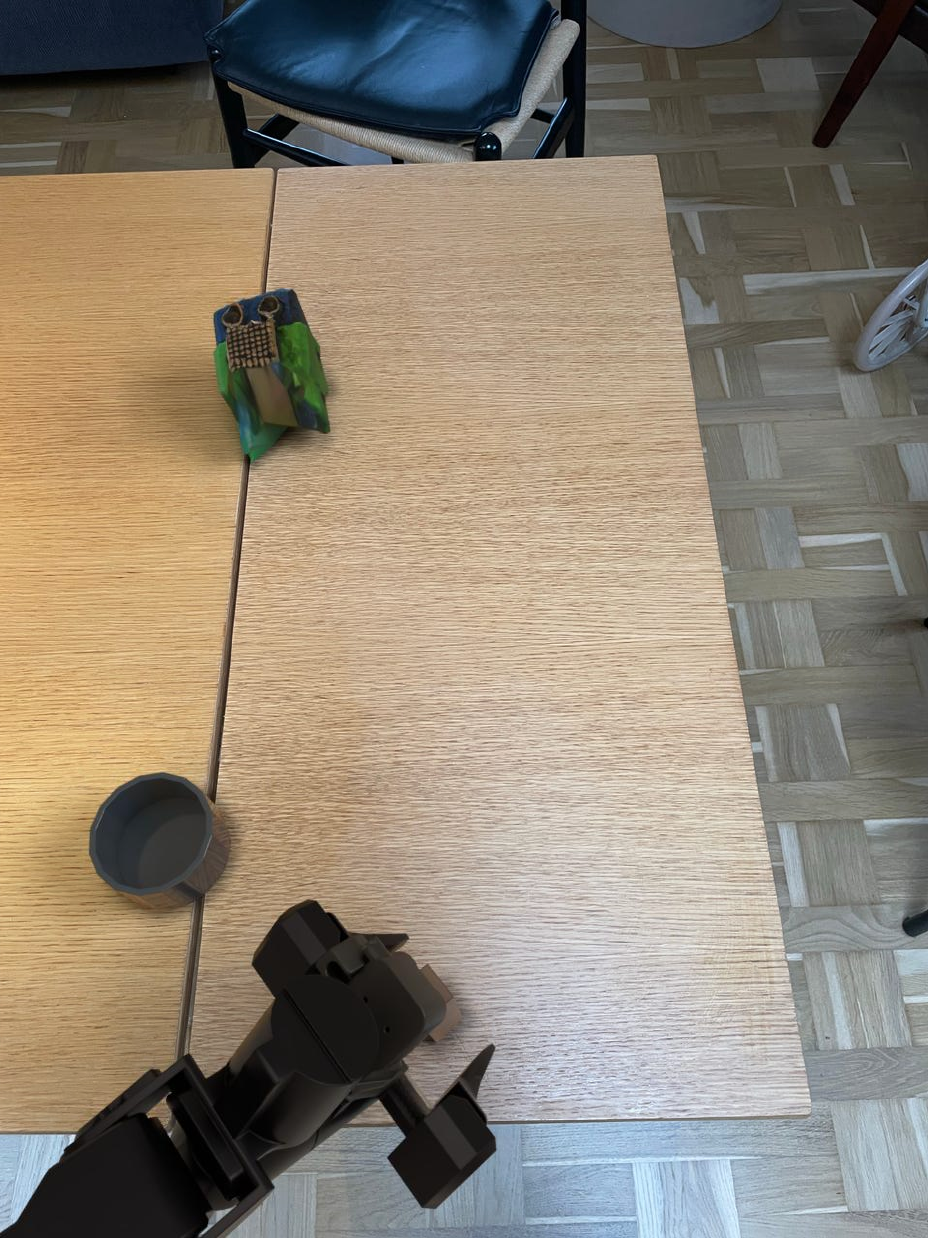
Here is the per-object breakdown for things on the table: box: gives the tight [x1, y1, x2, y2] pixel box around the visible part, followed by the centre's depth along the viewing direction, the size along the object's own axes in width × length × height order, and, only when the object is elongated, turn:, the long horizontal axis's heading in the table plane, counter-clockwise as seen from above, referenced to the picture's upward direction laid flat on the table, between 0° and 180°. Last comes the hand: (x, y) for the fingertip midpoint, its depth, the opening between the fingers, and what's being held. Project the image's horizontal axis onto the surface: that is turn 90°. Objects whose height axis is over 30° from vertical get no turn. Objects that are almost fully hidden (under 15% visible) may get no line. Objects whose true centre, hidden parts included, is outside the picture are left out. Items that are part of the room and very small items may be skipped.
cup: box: [88, 771, 231, 910], centre depth 77 cm, size 9×9×6 cm
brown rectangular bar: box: [419, 963, 464, 1043], centre depth 67 cm, size 3×3×14 cm
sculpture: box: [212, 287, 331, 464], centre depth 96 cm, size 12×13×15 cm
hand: (447, 992), depth 67 cm, fingers open, 9 cm apart
